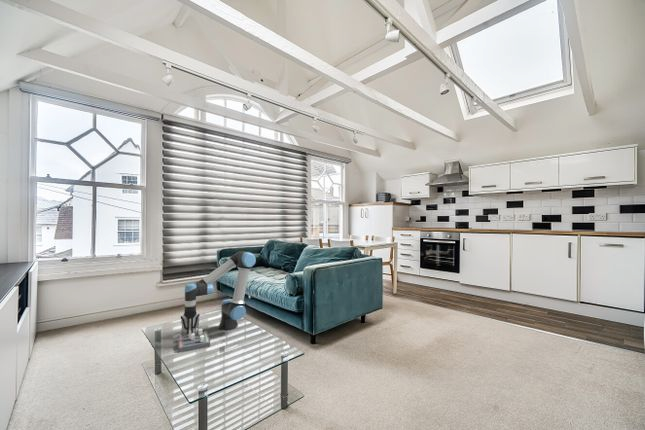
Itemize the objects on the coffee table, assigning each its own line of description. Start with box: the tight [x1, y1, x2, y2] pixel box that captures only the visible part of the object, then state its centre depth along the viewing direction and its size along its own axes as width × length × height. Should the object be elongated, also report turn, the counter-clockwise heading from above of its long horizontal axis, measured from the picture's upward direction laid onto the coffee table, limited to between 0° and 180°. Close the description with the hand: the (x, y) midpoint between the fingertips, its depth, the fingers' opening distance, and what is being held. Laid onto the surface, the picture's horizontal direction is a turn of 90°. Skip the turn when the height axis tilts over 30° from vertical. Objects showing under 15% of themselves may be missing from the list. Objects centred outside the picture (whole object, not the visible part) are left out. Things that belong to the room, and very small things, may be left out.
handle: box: [198, 328, 203, 335], centre depth 211 cm, size 2×4×3 cm, turn 28°
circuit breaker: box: [180, 315, 200, 336], centre depth 220 cm, size 8×14×15 cm, turn 174°
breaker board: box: [177, 331, 211, 353], centre depth 203 cm, size 20×22×3 cm
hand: (189, 338), depth 202 cm, fingers closed
